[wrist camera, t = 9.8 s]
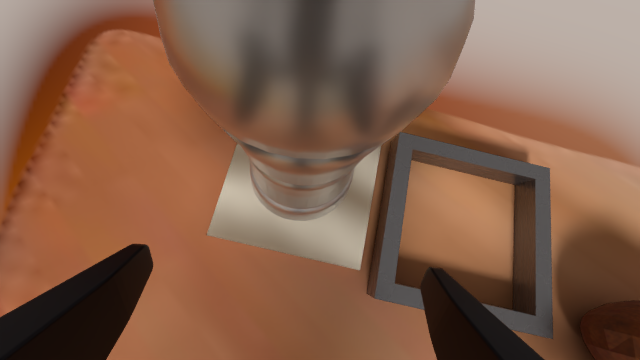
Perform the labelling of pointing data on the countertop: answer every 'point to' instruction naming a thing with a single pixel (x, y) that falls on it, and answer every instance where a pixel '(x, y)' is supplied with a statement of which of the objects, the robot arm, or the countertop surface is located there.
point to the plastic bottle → (312, 82)
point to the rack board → (296, 236)
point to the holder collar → (528, 229)
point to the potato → (613, 331)
